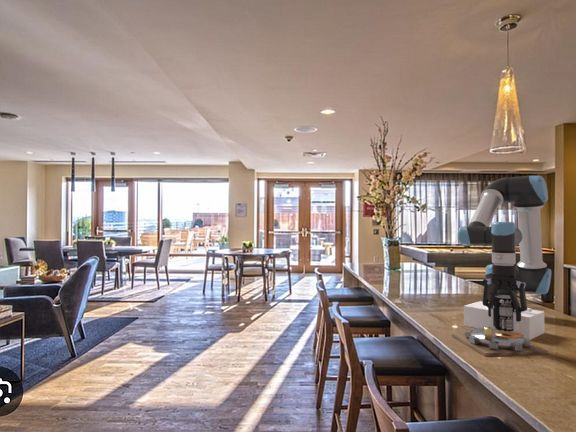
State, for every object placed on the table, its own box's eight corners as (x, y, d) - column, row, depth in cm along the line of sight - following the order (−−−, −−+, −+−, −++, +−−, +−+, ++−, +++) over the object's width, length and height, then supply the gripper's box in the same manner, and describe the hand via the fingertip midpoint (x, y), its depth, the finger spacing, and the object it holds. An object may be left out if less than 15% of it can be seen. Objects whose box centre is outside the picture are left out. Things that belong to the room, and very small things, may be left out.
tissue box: (480, 320, 169) (480, 296, 169) (544, 333, 149) (544, 305, 149) (463, 326, 160) (463, 300, 160) (529, 340, 141) (529, 311, 141)
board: (507, 335, 147) (507, 331, 147) (548, 353, 126) (548, 350, 126) (452, 336, 145) (452, 333, 145) (484, 356, 124) (484, 352, 124)
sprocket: (479, 329, 149) (479, 314, 150) (538, 341, 134) (537, 324, 134) (455, 340, 136) (455, 323, 136) (517, 355, 121) (517, 336, 121)
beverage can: (501, 326, 142) (501, 293, 142) (519, 330, 136) (518, 296, 136) (490, 328, 139) (489, 295, 139) (507, 333, 133) (507, 298, 133)
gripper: (471, 263, 142) (472, 324, 142) (531, 267, 128) (532, 336, 127) (479, 261, 147) (480, 321, 147) (538, 265, 133) (539, 331, 133)
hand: (504, 327), depth 137 cm, fingers open, 7 cm apart
